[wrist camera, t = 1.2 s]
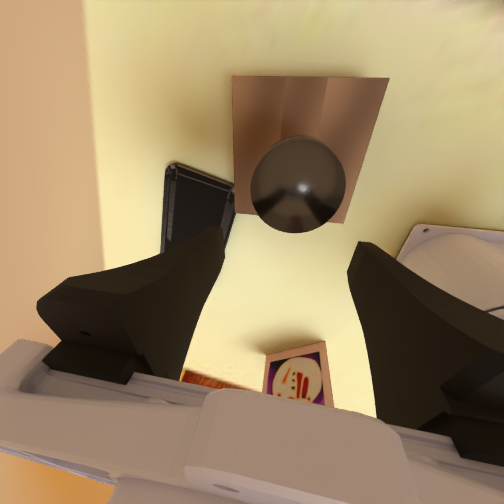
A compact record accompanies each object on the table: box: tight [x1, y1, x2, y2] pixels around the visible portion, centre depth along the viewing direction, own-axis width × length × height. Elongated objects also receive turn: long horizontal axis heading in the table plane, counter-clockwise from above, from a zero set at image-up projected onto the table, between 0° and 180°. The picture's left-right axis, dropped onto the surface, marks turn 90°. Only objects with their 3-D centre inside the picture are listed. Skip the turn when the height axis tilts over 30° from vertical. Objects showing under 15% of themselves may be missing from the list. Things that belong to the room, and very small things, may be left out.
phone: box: [160, 163, 236, 254], centre depth 24 cm, size 8×1×15 cm
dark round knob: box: [250, 135, 346, 233], centre depth 12 cm, size 4×4×7 cm
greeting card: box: [262, 341, 334, 408], centre depth 30 cm, size 11×7×15 cm, turn 128°
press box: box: [232, 76, 390, 223], centre depth 16 cm, size 9×9×4 cm
